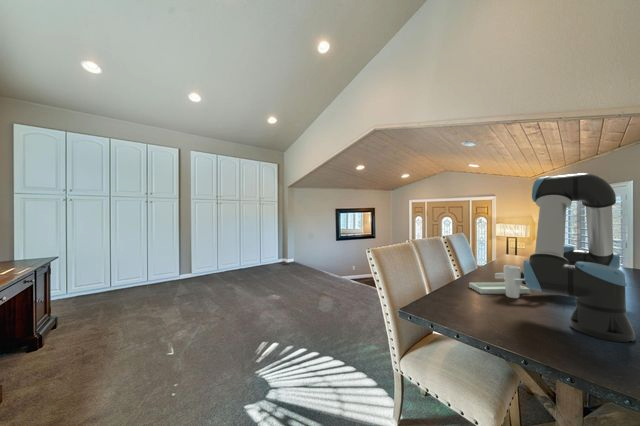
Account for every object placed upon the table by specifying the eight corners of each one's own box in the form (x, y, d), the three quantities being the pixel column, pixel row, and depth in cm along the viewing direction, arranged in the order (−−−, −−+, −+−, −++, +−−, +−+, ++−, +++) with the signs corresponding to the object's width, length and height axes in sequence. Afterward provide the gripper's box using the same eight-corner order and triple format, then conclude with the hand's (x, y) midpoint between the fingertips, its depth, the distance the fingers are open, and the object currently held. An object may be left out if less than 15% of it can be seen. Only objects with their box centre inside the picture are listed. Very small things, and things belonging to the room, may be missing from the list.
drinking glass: (514, 299, 120) (513, 268, 120) (500, 295, 126) (500, 265, 126) (524, 298, 122) (524, 267, 122) (510, 294, 128) (510, 264, 128)
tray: (482, 294, 129) (482, 289, 129) (469, 287, 141) (468, 282, 141) (530, 293, 128) (529, 288, 128) (512, 286, 140) (512, 282, 140)
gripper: (571, 292, 114) (526, 294, 112) (524, 278, 137) (487, 280, 135) (570, 275, 114) (525, 277, 112) (524, 264, 137) (486, 266, 135)
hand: (504, 279), depth 124 cm, fingers open, 11 cm apart
